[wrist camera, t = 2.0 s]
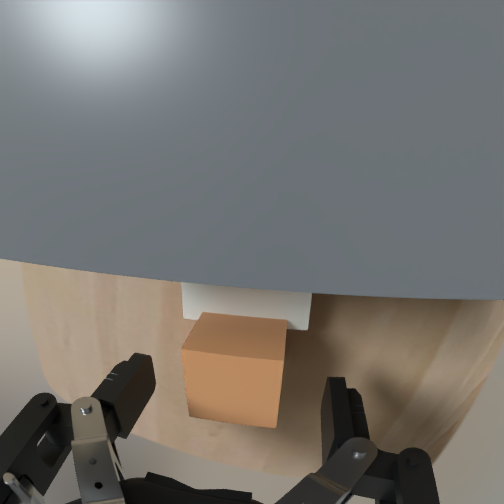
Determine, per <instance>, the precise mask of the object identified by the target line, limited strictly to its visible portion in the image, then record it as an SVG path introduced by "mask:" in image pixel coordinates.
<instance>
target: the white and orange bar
mask: <svg viewBox="0 0 504 504" xmlns="http://www.w3.org/2000/svg"><path fill="white" fill-rule="evenodd" d="M181 286H182V302H183V316H184V318H186V319H193V320H198V321H197V322H196V324H195V326H194V327H193V329H192V331H191V332H190V334H189V336H188V338H187V339H186V341H185V343H184V344H183V346H182V348H181V354H182V363H183V372H184V380H185V388H186V395H187V403H188V410H189V416H191V417H196V418H201V419H207V420H213V421H220V422H226V423H233V424H241V425H249V426H258V427H268V428H276V424H277V417H278V409H279V400H280V392H281V383H282V375H283V366H284V355H285V343H286V330H287V329H295V330H308V324H309V316H310V308H311V299H312V293H306V292H291V291H278V290H265V289H252V288H240V287H229V286H218V285H207V284H196V283H186V282H181Z"/></svg>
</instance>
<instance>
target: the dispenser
mask: <svg viewBox="0 0 504 504" xmlns="http://www.w3.org/2000/svg"><path fill="white" fill-rule="evenodd" d="M0 258H1V259H7V260H13V261H20V262H26V263H33V264H40V265H46V266H53V267H60V268H68V269H75V270H83V271H90V272H98V273H106V274H114V275H122V276H131V277H140V278H149V279H158V280H167V281H177V282H186V283H196V284H207V285H218V286H229V287H240V288H252V289H265V290H278V291H291V292H306V293H321V294H338V295H356V296H375V297H398V298H426V299H469V300H504V0H0Z"/></svg>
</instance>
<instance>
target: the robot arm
mask: <svg viewBox="0 0 504 504" xmlns="http://www.w3.org/2000/svg"><path fill="white" fill-rule="evenodd" d="M155 386H156V379H155V374H154V368H153V362H152V358H151V356H150V355H145V354H140V353H134V354H133V355H132V356H131V358H130V359H129V360H128V361H122V362H121V363H119V364H117V365H116V366H115V367H114V368H113V369H112V371H111V372H110V374H108V375H107V377H106V379H104V380H103V382H102V383H101V384H100V385H99V387H98V388H97V389H96V390H95V392H94V393H93V394H92V395H91V396H90V397H82V398H79V399H77V400H76V401H74V402H73V404H64V403H57V401H56V398H55V397H54V395H52V394H50V393H39V394H37V395H35V396H34V397H33V398H32V399H31V400H30V401H29V402H28V403H27V405H26V406H25V407H24V408H23V409H22V410H21V412H20V413H19V414H18V415H17V416H16V418H15V419H14V420H13V421H12V422H11V424H10V425H9V426H8V427H7V428H6V430H5V431H4V432H3V433H2V435H1V436H0V504H45V501H44V498H43V496H44V495H45V493H46V491H47V489H48V488H49V486H50V484H51V482H52V481H53V479H54V478H55V476H56V474H57V473H58V471H59V469H60V468H61V466H62V464H63V463H64V461H65V459H66V458H67V456H68V454H69V453H70V451H71V450H72V453H73V459H74V465H75V471H76V476H77V481H78V487H79V491H80V496H81V498H79V499H77V500H74V501H72V502H69V503H66V504H263V503H260V502H258V501H256V500H253V499H252V493H251V492H243V491H235V490H228V489H208V490H207V489H205V490H199V489H194V488H192V487H190V486H187V485H185V484H183V483H181V482H179V481H177V480H175V479H173V478H169V477H165V476H162V475H158V474H154V473H151V472H148V473H147V475H146V477H145V478H130V479H127V478H126V475H125V473H124V469H123V466H122V463H121V460H120V456H119V453H118V450H117V447H116V443H115V439H116V438H117V436H119V437H122V438H124V439H126V438H127V437H128V435H129V433H130V432H131V430H132V428H133V427H134V425H135V423H136V421H137V420H138V418H139V416H140V415H141V413H142V411H143V410H144V408H145V406H146V404H147V403H148V401H149V399H150V398H151V396H152V394H153V393H154V390H155ZM364 412H365V411H364V407H363V402H362V397H361V395H360V394H359V393H358V391H357V390H356V389H355V388H347V387H346V381H345V377H327V381H326V385H325V390H324V394H323V399H322V404H321V433H322V467H321V468H320V469H319V470H318V471H317V472H316V473H310V474H308V475H307V476H306V477H305V478H303V479H302V480H301V481H300V482H299V483H298V484H297V485H296V486H295V487H294V488H293V489H291V490H290V491H289V492H288V493H287V494H285V495H284V496H283V497H282V498H281V499H280V500H278V501H277V502H276V503H275V504H347V503H348V501H349V500H350V499H351V498H352V497H353V496H354V495H358V496H362V497H367V498H372V499H375V504H440V503H439V497H438V492H437V487H436V482H435V478H434V473H433V469H432V464H431V460H430V457H429V455H428V454H427V453H426V452H425V451H423V450H422V449H419V448H407V449H405V450H403V451H401V452H400V454H394V453H389V452H384V451H381V450H379V449H378V448H377V447H376V445H375V444H374V443H373V442H372V441H371V440H370V437H369V432H368V427H367V421H366V416H365V414H364ZM44 433H45V437H44V438H43V439H42V441H41V442H40V444H39V445H38V446H37V444H38V442H39V440H40V439H41V438H42V436H43V435H44Z"/></svg>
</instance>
